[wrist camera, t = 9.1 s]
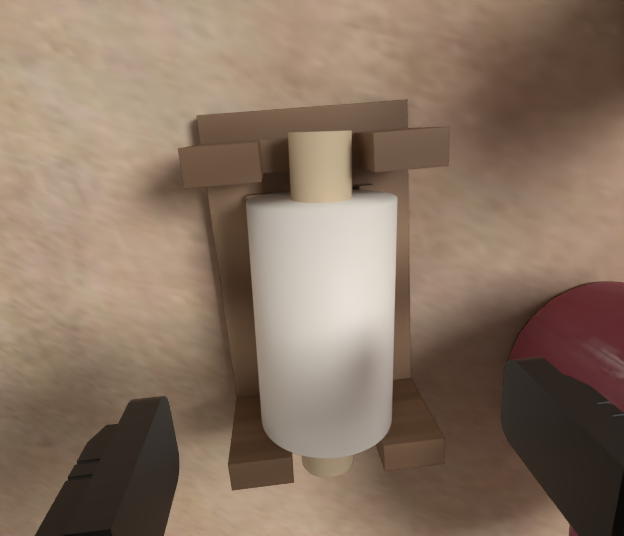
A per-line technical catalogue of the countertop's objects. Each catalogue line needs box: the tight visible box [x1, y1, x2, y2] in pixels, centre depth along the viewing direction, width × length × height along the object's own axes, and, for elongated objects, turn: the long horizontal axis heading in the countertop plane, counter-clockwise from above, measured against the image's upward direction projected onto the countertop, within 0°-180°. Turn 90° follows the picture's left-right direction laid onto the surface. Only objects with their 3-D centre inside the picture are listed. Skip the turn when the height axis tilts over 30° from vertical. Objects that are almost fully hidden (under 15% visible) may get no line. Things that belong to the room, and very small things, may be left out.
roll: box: [246, 131, 398, 478], centre depth 18 cm, size 14×5×5 cm
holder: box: [178, 99, 449, 490], centre depth 18 cm, size 15×8×6 cm, turn 5°
